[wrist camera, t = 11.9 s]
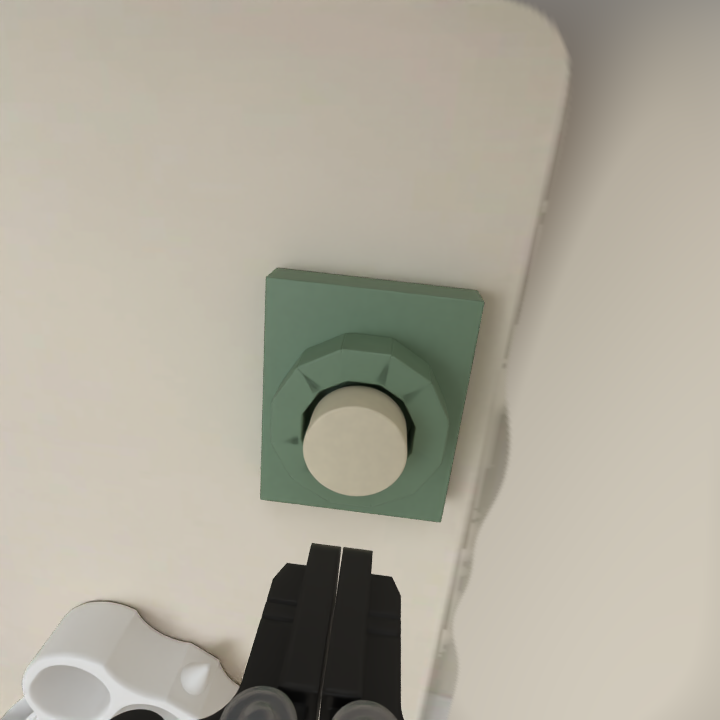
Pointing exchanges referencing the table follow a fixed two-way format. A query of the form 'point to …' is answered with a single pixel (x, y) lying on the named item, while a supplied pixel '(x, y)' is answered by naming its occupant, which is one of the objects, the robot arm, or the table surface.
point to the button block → (365, 379)
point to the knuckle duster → (118, 671)
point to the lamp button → (356, 441)
